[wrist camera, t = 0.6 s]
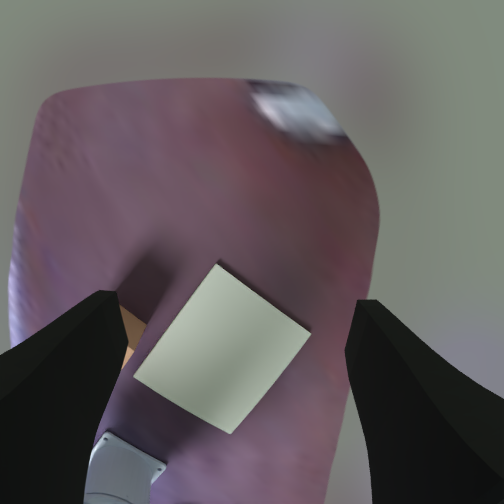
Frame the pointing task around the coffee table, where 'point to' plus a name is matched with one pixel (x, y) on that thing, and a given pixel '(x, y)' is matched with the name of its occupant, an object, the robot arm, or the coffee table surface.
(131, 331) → the terracotta block
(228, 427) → the grey mat
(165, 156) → the coffee table surface
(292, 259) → the coffee table surface
